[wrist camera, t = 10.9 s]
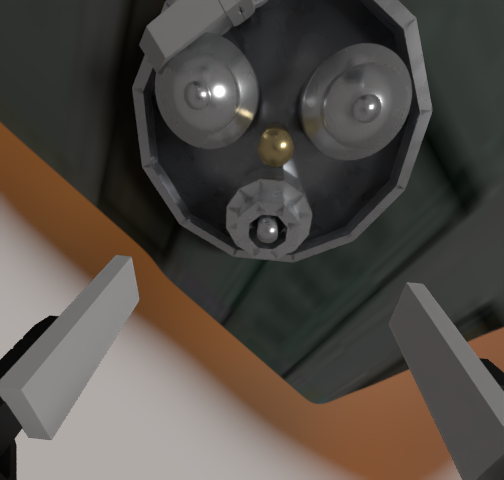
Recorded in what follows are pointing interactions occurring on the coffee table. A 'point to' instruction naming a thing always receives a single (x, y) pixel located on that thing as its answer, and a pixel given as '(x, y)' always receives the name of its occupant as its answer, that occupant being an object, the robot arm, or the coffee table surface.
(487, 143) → the coffee table surface
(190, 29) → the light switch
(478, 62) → the coffee table surface
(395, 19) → the carrier
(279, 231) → the grey nut
